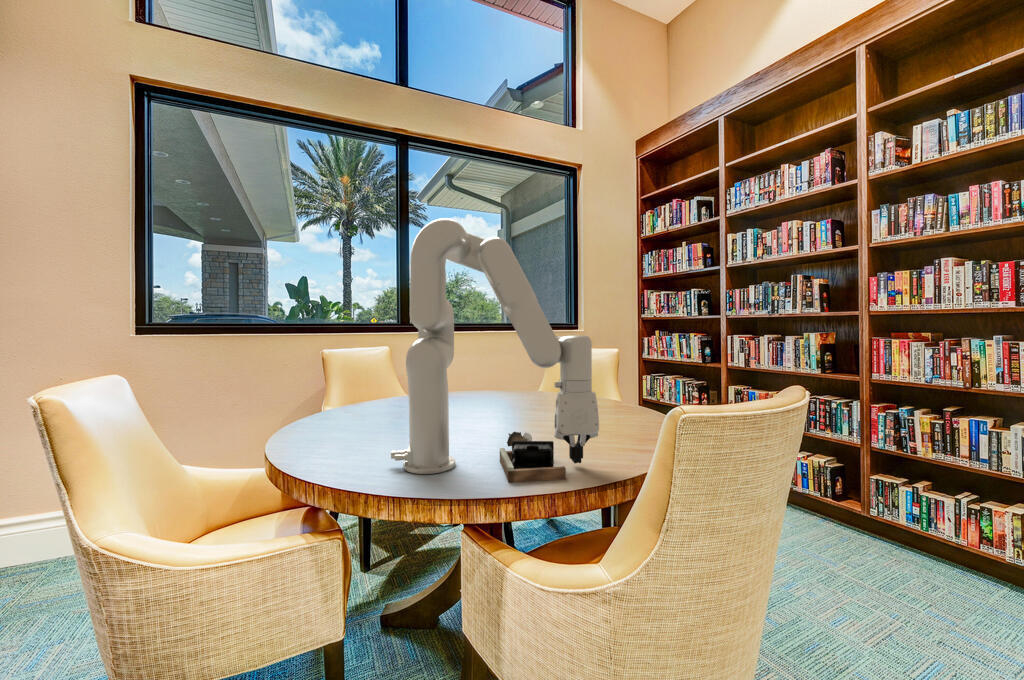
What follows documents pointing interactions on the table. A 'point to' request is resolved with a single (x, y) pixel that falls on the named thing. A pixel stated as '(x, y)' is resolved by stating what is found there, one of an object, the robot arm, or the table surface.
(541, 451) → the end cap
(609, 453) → the table surface
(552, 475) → the wooden tray
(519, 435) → the squirrel figurine
